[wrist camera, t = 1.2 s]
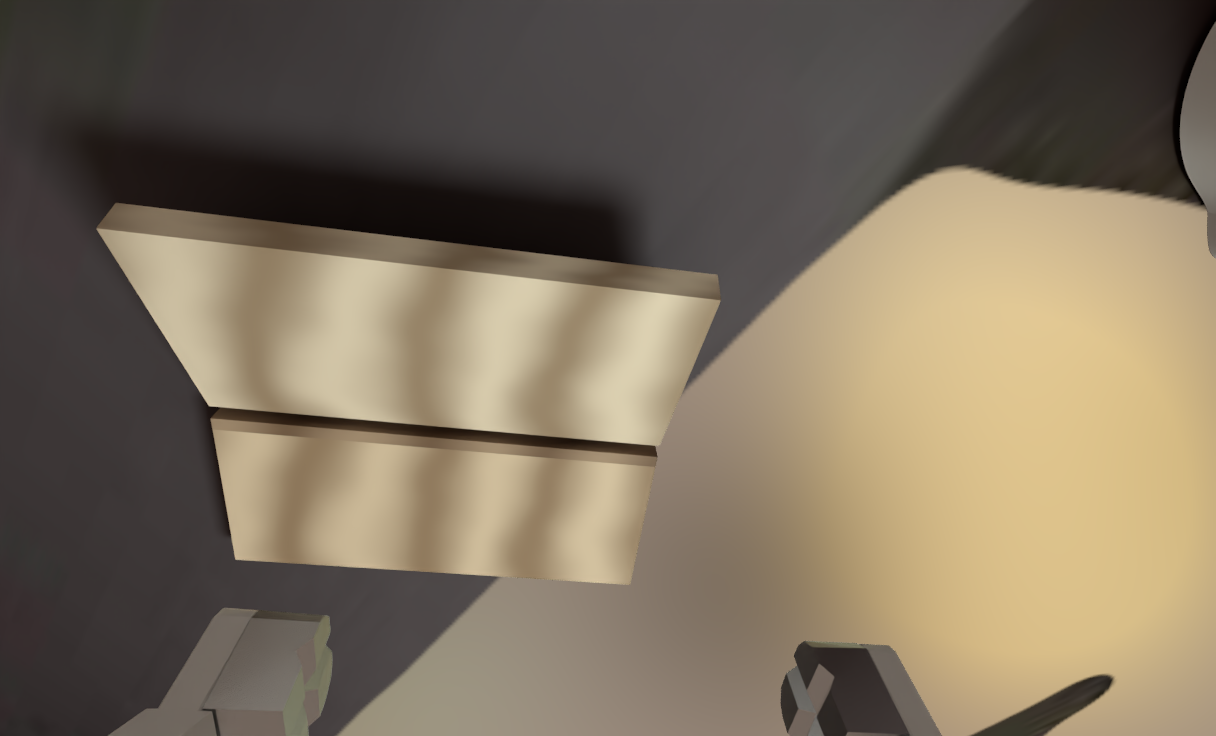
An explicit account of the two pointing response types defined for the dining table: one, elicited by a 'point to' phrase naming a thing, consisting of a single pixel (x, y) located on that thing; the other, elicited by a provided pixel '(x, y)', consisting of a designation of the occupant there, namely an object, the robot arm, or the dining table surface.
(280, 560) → the plank
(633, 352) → the loose plank
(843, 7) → the dining table surface
